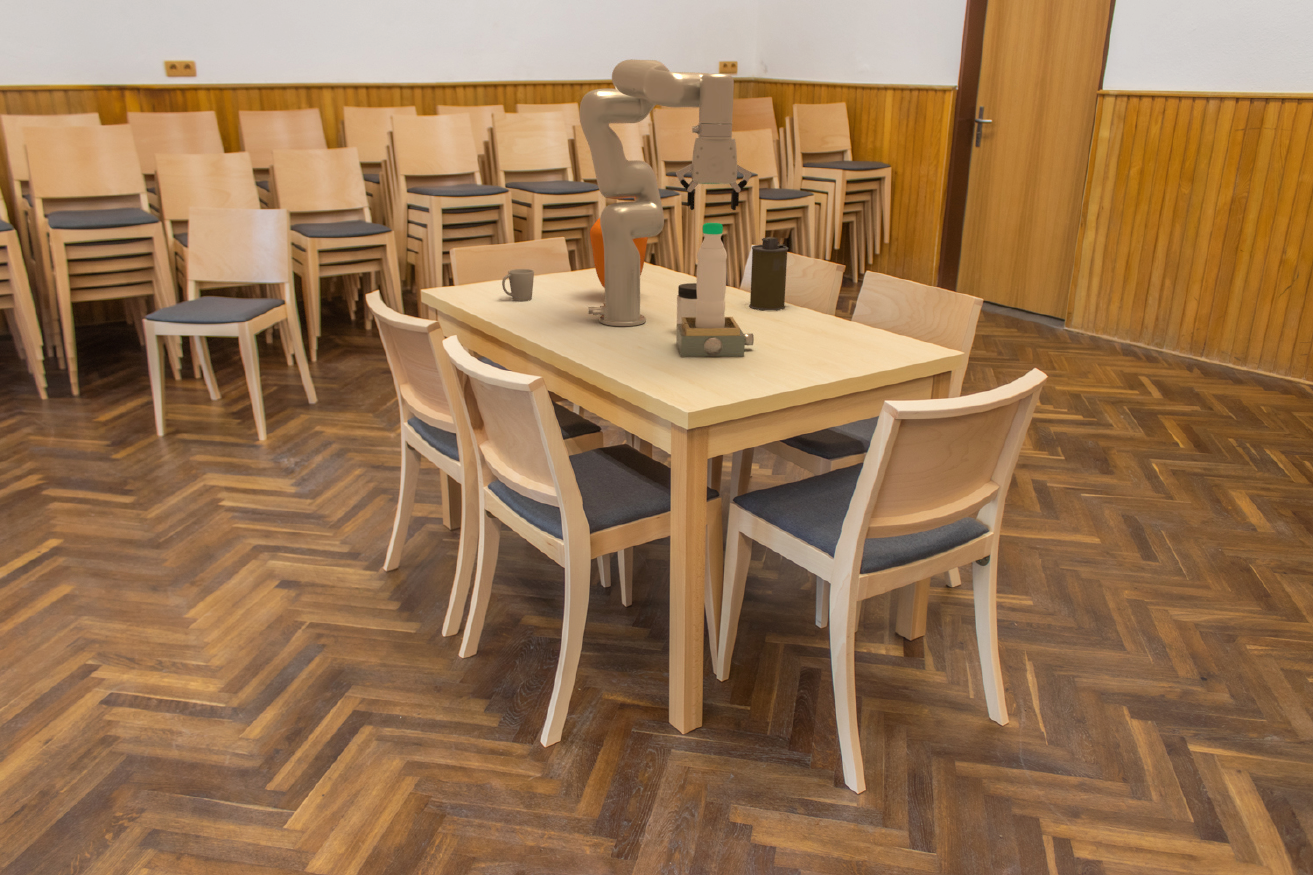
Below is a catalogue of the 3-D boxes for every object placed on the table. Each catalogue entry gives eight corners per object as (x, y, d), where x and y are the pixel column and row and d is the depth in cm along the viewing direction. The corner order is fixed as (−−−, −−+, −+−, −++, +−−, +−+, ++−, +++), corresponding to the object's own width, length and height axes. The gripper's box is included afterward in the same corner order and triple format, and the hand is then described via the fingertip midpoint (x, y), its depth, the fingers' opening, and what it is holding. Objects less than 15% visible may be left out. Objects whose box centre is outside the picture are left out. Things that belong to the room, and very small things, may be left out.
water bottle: (722, 332, 230) (725, 225, 222) (693, 331, 231) (695, 224, 223) (726, 326, 236) (729, 222, 228) (697, 324, 238) (700, 221, 229)
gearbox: (681, 357, 228) (681, 329, 226) (676, 343, 241) (676, 317, 239) (757, 356, 230) (758, 329, 227) (748, 342, 242) (749, 316, 240)
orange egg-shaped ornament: (658, 300, 290) (659, 215, 282) (609, 307, 281) (609, 219, 273) (627, 291, 304) (627, 209, 295) (580, 296, 295) (578, 213, 286)
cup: (539, 300, 289) (538, 271, 286) (509, 304, 284) (508, 275, 281) (527, 296, 295) (526, 268, 292) (497, 299, 290) (496, 271, 287)
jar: (672, 333, 251) (672, 287, 247) (680, 327, 258) (681, 282, 254) (705, 336, 248) (706, 290, 244) (713, 329, 256) (714, 284, 252)
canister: (768, 312, 276) (771, 241, 269) (741, 306, 283) (744, 237, 277) (793, 307, 283) (797, 238, 276) (767, 301, 290) (770, 234, 283)
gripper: (678, 132, 214) (676, 211, 220) (755, 133, 216) (752, 211, 222) (675, 130, 222) (674, 207, 227) (750, 131, 223) (747, 207, 229)
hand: (712, 209), depth 224 cm, fingers open, 9 cm apart
